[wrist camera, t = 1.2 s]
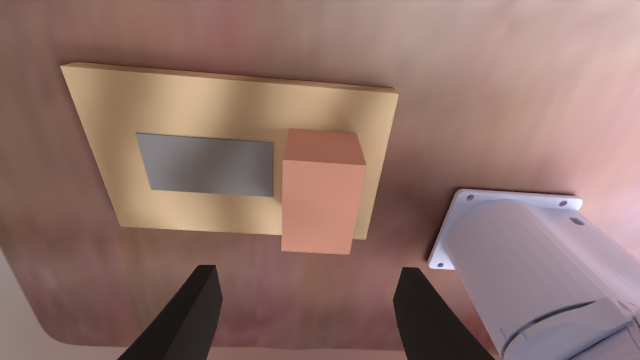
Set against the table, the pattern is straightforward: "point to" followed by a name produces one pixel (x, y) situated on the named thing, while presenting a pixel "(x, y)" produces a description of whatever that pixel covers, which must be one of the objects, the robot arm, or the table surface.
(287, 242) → the block
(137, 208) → the board
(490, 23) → the table surface
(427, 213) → the table surface
